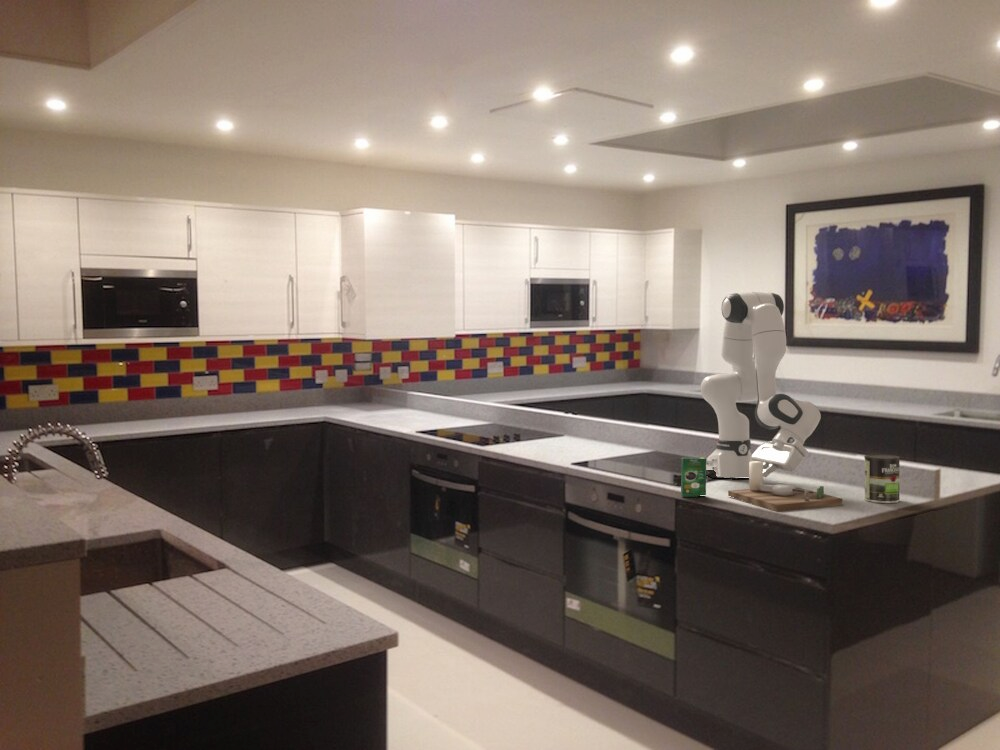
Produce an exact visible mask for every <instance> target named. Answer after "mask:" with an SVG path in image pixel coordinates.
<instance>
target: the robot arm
mask: <svg viewBox="0 0 1000 750" xmlns="http://www.w3.org/2000/svg"><path fill="white" fill-rule="evenodd" d="M783 300H784V299H783V298H782V296H780V294H777V293H774V292H762V291H761V292H760V291H751V292H743V293H742V292H741V293H736V292H735V293H731V294H727V295H726V296H725V297H724V299H723V300H722V303H721V315H722V317H723V318H724V320H725V322H724V327H723V336H722V344H721V357H722V358H723V360H724V361H725V362H726V363H727V364H730V365H731V366H732V373H715V374H711V375H708V376H705V377H704V378H703V380H702V381H701V384H700V393H701V397H702V398H703V400H705V401H706V402H707V403H708V404H709V405H710V406H711V408H713V410H714V413H715V414H716V417H717V422H718V423H717V424H718V439H716V440H715V444H716V446H715V448H716V449H715V450H714V451H713V452H712V453H711V454H710V455H709V456H708V457H707V458H706V470H714V471H715V472H716V476H717V477H724V478H730V477H749V462H750V461H761V462H763V478H768V476H770V474H771V473H774V472H776V470H777V469H778V470H782V471H787V472H793V471H796V469H797V468H798V467H799V465H800V464H801V462H802V461H803V460H804V457H806V456H808V454H809V451H808V450H807V449H806V447H805V446H804V444H805V441H806V440H807V439H808V438H809V437H810V436H811V435H812V434H813V433H814V431H815V430H816V428H817V426H818V425H819V423H820V420H821V418H822V417H821V412H820V410H819V409H818V407H817V406H816V405H815V404H814V403H812V402H811V401H807V400H805V401H803V400H798V399H795V398H793V397H790V395H788V394H785V393H777V383H776V381H777V380H776V373H777V369H778V366H779V364H780V363H781V361H782V359H783V358H784V356H785V354H786V351H787V336H786V335H787V333H786V329H785V323H784V320H783V317H782V316H783V314H784V311H785V305H784V304H785V303H784V301H783ZM753 353H754V354H753ZM753 356H754V357H753ZM754 361H755V363H754ZM755 401H757V402H756V406H755V409H754V418H755V421H756V422H757V424H758V425H759V426H760V427H762V428H764V429H766V430H776V429H778V428H779V427H780V429H779V430H778V431H777V433H776V434H775V435H774V437H773V438H772V440H769V441H767V442H763V443H762V444H760V445H759V446H758V447H757V448H756V449H755V451H753V453H752V452H751V448H752V447H751V445H752V443H751V439H750V420H749V418H748V417H747V416H746V415H745V414H744V413H742V412H740V411H739V410H738V408H737V403H751V402H755Z"/></svg>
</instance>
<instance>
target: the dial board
mask: <svg viewBox="0 0 1000 750" xmlns="http://www.w3.org/2000/svg"><path fill="white" fill-rule="evenodd" d="M795 489H800V490H808V491H805V492H797V491H795V495H791V496H781V495H774V494H772V491H765V490H750V488H747V489H745V488H744V489H735V490H732V489H731V490H727V491H728V493H727V494H728V495H727V496H731V497H734V498H737V499H740V500H743V501H742V502H744V501H746V502H745V503H747V502H749V503H748V504H750V503H752V504H751V505H754V504H755V506H757V505H758V506H757V507H761V508H763V509H767V510H771V511H774V512H784V511H794V510H797V511H798V510H804V509H805V510H806V509H816V508H826V507H836V506H843V498H842V497H838V496H834V495H831V494H825V487H824V485H819V487H818V488H816V491H813V490H812V491H813V493H809V491H811V490H810V489H806V488H805V489H804V488H802V487H796V486H795ZM731 497H730V498H731ZM734 498H733V499H734ZM737 499H736V500H737ZM740 500H739V501H740Z"/></svg>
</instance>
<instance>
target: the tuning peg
mask: <svg viewBox="0 0 1000 750" xmlns="http://www.w3.org/2000/svg"><path fill="white" fill-rule="evenodd" d="M748 484H749V485H748V486H749V489H750V490H765V491H772V494H774V495H781V496H791V495H795V491H797V492H805V491H808V490H809V489H806V490H800V489H795V487H796V486H795V485H792V484H779V483H778V484H765V483H764V477H763V462H761V461H750V462H749V483H748ZM809 493H813V490H810V491H809Z"/></svg>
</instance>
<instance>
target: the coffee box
mask: <svg viewBox="0 0 1000 750" xmlns="http://www.w3.org/2000/svg"><path fill="white" fill-rule="evenodd" d="M706 460H707V458H705V457H681V461H680V462H681V464H680V467H681V469H680V470H681V471H680V472H681V473H680V497H682V498H699V497H698V496H700V495H706V496H707V476H706Z"/></svg>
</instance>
